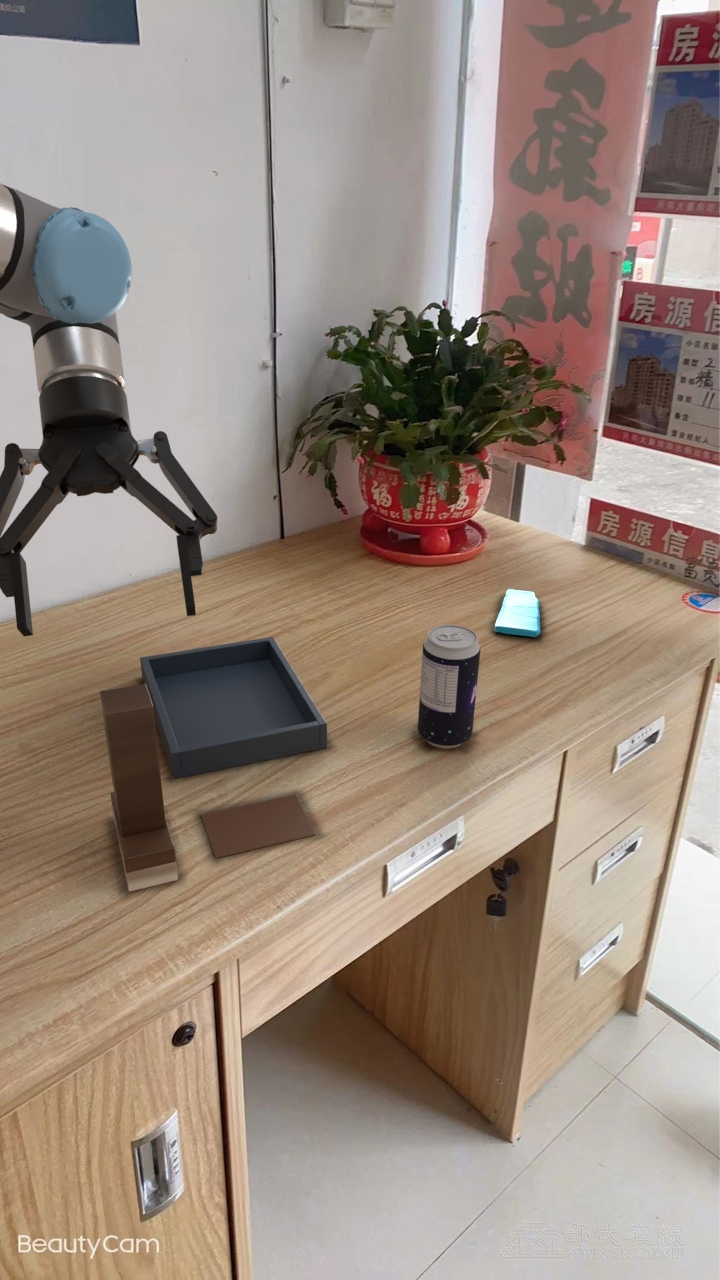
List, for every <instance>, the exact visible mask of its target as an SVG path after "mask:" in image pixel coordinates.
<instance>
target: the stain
mask: <svg viewBox="0 0 720 1280" xmlns="http://www.w3.org/2000/svg"><path fill="white" fill-rule="evenodd" d="M200 817H201V820H202V822H203V826H204V828H205V832H206V834H207V837H208V838H207V839H209V844H210V846H211V849H212V852H213V856H214V858H215V859H220V858H224V857H228V856H232V855H236V854H241V853H246V852H248V851H249V852H250V851H254V850H259V849H262V848H263V849H264V848H266V847H271V846H275V845H279V844H284V843H287V842H292V841H295V840H300V839H304V838H308V837H314V836H316V835H317V834H316V833H315V829H313V826H312V824H311V821H310V820H309V818H308V816H307V814H306V812H305V810H304V808H303V806H302V804H301V802H300V800H299V798H298V797H297V794H296V793H295V794H290V795H286V796H285V795H284V796H281V797H277V798H272V799H268V800H264V801H259V802H254V803H250V804H245V805H240V806H236V807H232V808H231V807H230V808H226V809H222V810H216V811H214V812H208V813H204V814H200Z"/></svg>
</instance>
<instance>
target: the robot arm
mask: <svg viewBox="0 0 720 1280" xmlns="http://www.w3.org/2000/svg"><path fill="white" fill-rule="evenodd" d="M132 276H133V265H132V259H131V254H130V252H129V249H128V246H127V244H126V242H125V240H124V238H123V237H122V234H121V233H120V232H119V231H118V230H117V228H116V227H115V226H114V225H113V224H112V223H110V221H108V220H107V219H105V218H104V217H103V216H100V215H98V214H95V213H91V212H87V211H84V210H82V209H80V208H78V207H72V206H70V207H58V206H54V205H51V204H49V203H47V202H45V201H42V200H40V199H39V198H37V197H34V196H31V195H30V194H27V193H25V192H22V191H20V190H18V189H16V188H13V187H10V186H7V185H5V184H2V183H1V182H0V314H1V315H4V316H5V317H6V318H9V319H12V320H14V321H17V322H20V323H23V324H25V325H28V326H29V328H30V334H31V340H32V348H33V359H34V367H35V377H36V385H37V391H38V393H39V397H38V404H39V414H40V415H39V416H40V423H41V432H42V441H41V444H40V447H39V448H21V447H20V446H19V445H18V444H17V443H16V442H15V443H13V442H9V443H8V444H6V445H5V447H4V461H3V462H4V464H3V469H2V471H1V473H0V591H1V592H2V594H3V595H4V597H6V598H13V601H14V612H15V621H16V629H17V630H18V632H19V633H20V634H21V636H23V637H31V636H34V631H33V621H32V609H31V601H30V592H29V591H30V590H29V580H28V570H27V562H26V560H25V559H24V557H23V555H22V554H21V553H22V552H23V550H24V549H25V548H26V546H27V545H28V544H29V542H30V541H31V540H32V538H33V537H34V536H35V535H36V534H37V532H38V531H39V529H40V528H41V527H42V525H43V524H44V523H45V522H46V520H47V519H48V518H49V516H50V515H51V514H52V512H53V511H54V510H55V509H56V507H57V506H58V505H60V504H61V503H63V501H64V500H65V499H66V498H67V496H68V495H69V494H74V495H76V496H77V497H85V496H86V497H87V496H89V495H92V494H95V493H96V494H97V493H98V494H103V495H104V494H105V495H106V494H107V495H108V494H114V491H116V490H118V489H120V488H122V490H123V491H125V492H126V493H127V494H129V495H130V496H131V497H133V498H135V499H136V500H137V501H139V502H140V503H141V504H142V505H143V506H145V508H147V509H148V510H149V511H150V512H151V513H153V514H154V515H155V516H156V517H157V518H158V519H160V520H161V521H162V522H163V523H165V525H167V527H169V528H170V529H171V530H173V531H174V532H175V533H176V534H177V535H176V536H175V537H176V546H177V554H178V560H179V561H178V562H179V567H180V574H181V575H180V576H181V582H182V590H183V596H184V605H185V612H186V617H193V616H196V615H197V614H196V602H195V601H196V600H195V596H194V587H193V580H192V577H196V576H202V575H203V571H204V562H203V556H202V548H201V540H202V538H204V537H205V536H207V535H213V534H216V533H217V532H218V531H217V530H218V515H217V514H216V512H215V511H214V509H213V508H212V506H211V505H210V504H209V502H208V501H207V500H206V498H205V497H204V495H203V494H202V493H201V491H200V490H199V488H198V487H197V485H196V484H195V483H194V481H193V480H192V478H191V477H190V476H189V474H188V473H187V471H186V470H185V469H184V468H183V466H182V465H181V463H180V462H179V461H178V460H177V458H176V457H175V456H174V454H173V452H172V449H171V445H170V441H169V437H168V435H167V433H166V432H164V430H163V431H162V430H158V431H156V432H155V433H154V434H153V437H150V438H149V437H148V438H144V439H140V440H139V439H138V440H136V439H135V437H134V436H133V433H132V429H131V420H130V414H129V413H130V412H129V405H128V396H127V393H126V392H125V389H126V382H125V375H124V365H123V359H122V351H121V346H120V345H121V344H120V339H119V338H120V337H119V328H118V319H117V312H118V311H119V310H120V309H121V308H122V306H123V305H124V303H125V301H126V299H127V297H128V295H129V293H130V288H131V280H132ZM140 456H145V457H146V458H147V460H148V461H149V462H150V463H151V464H155V465H157V464H158V466H159V468H160V470H161V472H162V474H163V475H164V477H165V478H166V480H167V481H168V482H169V484H170V485H171V486H172V488H173V489H174V491H175V492H176V494H177V495H178V496H179V498H180V499H181V500H182V502H183V503H184V505H185V506H186V507H187V509H188V511H189V512H190V513H191V514H192V516H193V518H194V519H193V518H191V517H190V516H189V515H188V514H186V513H185V512H184V511H183V510H182V509H181V508H179V507H178V506H177V505H176V504H175V503H174V502H173V501H171V500H170V499H169V498H168V497H167V496H165V495H164V494H163V493H162V492H161V491H159V490H158V489H157V488H156V487H155V486H153V484H151V483H150V482H149V481H148V480H147V479H145V477H143V476H142V474H141V473H140V472H139V471H138V470H137V468H135V465H136V463H138V462H137V461H138V460H139V458H140ZM37 465H41V466H42V467H43V468H44V469H45V470H46V472H47V473H46V474H45V476H44V477H43V479H42V480H41V484H40V487H38V489H37V490H36V491H35V493H34V494H33V495H32V496H31V498H30V499H29V500H28V501H27V503H26V504H25V506H24V507H23V508H22V509H21V511H20V512H19V513H18V515H17V516H16V517H15V518H14V519H13V521H11V523H10V525H9V526H8V527H7V528H6V525H7V523H8V521H9V518H10V516H11V514H12V511H13V510H14V507H15V505H16V503H17V501H18V498H19V495H20V493H21V491H22V489H23V486H24V482H25V479H26V478H25V477H26V476H29V475H31V474H32V472H33V470H34V469H35V467H36V466H37ZM5 528H6V530H5V531H4V529H5Z"/></svg>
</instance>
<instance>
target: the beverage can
mask: <svg viewBox="0 0 720 1280" xmlns="http://www.w3.org/2000/svg"><path fill="white" fill-rule="evenodd" d="M421 654H422V655H421V667H420V669H421V671H420V684H419V685H420V686H419V701H418V702H419V703H418V717H417V718H418V719H417V732H418V734H419V736H421V737H422V738H423V739H424V740H425V741H426V742H427V743H428V744H429V745H431V746H433V747H435V748H439V749H454V748H457V747H460V746H461V745H462V744H464V743H466V742H467V741H469V739H471V737H472V736H473V731H474V721H475V720H474V719H475V711H476V702H477V701H476V698H477V689H478V680H479V669H480V661H481V660H480V659H481V646H480V644H479V642H478V635H477V633H476V632H475V631H474V630H473V629H471V628H469V627H466V626H464V625H458V624H439V625H435V626H434V627H432V628H431V629H429V631H428V632H427V637H426V639H425V640H424V641H423V643H422V653H421Z"/></svg>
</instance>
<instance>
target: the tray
mask: <svg viewBox="0 0 720 1280" xmlns="http://www.w3.org/2000/svg"><path fill="white" fill-rule="evenodd" d="M139 661H140V662H139V663H140V671H141V680H142V684H146V686H147V689H148V692H149V695H150V698H151V701H152V704H153V709H154V718H155V725H156V727H157V730H158V733H159V736H160V739H161V743H162V746H163V748H164V752H165V755H166V758H167V761H168V764H169V767H170V770H171V771H170V772H171V773H172V776H173V779H174V780H175V779H176V780H177V779H181V778H186V777H190V776H194V775H195V776H196V775H201V774H204V773H210V772H214V771H220V770H224V769H230V768H234V767H239V766H240V767H241V766H244V765H250V764H254V763H259V762H265V761H269V760H273V759H280V758H283V757H288V756H295V755H299V754H303V753H309V752H312V751H317V750H318V751H319V750H322V749H327V748H328V723H327V721H326V719H325V718H324V717H323V715H322V714H321V712H320V710H319V709H318V707H317V705H316V704H315V701H314V700H313V699H312V697H311V695H310V694H309V693H308V691H307V689H306V688H305V686H304V685H303V683H302V681H301V680H300V678H299V676H298V675H297V673H296V671H295V670H294V668H293V667H292V665H291V664H290V662H289V660H288V659H287V657H286V655H285V653H284V652H283V650H282V649H281V647H280V645H279V644H278V643H277V641H276V639H275V638H274V636H268V637H262V638H256V639H250V640H244V641H236V642H229V643H224V644H218V645H211V646H206V647H199V648H192V649H186V650H180V651H173V652H167V653H159V654H154V655H148V656H147V655H146V656H140V657H139Z"/></svg>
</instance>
